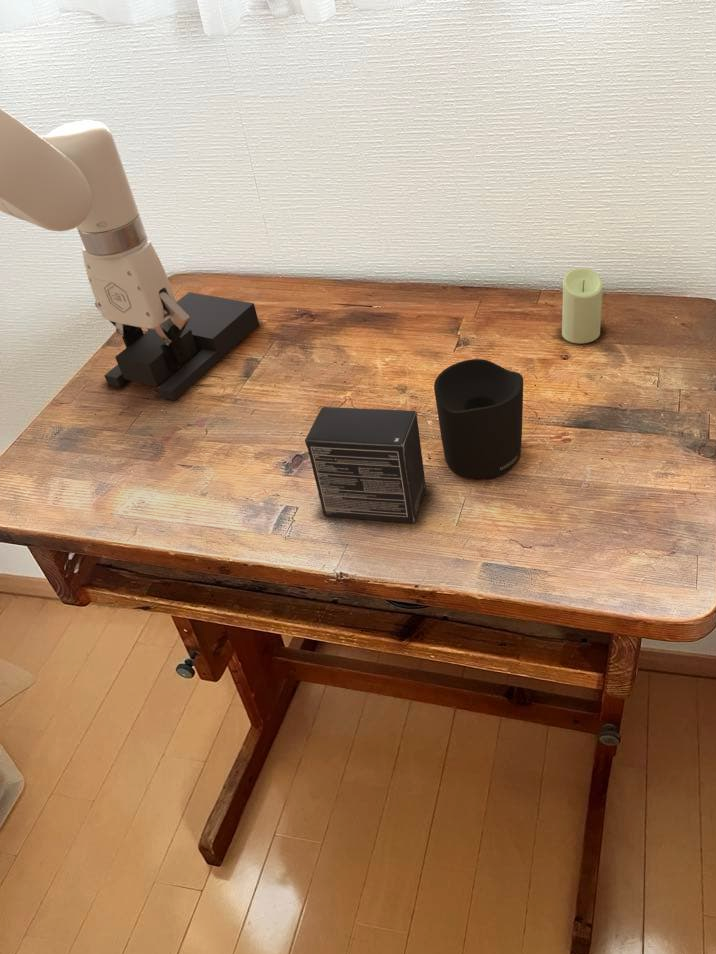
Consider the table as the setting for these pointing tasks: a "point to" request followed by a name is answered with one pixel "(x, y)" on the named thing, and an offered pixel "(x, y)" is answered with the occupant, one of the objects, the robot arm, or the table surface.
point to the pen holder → (480, 418)
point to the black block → (151, 357)
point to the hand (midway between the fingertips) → (159, 359)
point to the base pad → (204, 338)
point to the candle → (581, 305)
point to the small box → (367, 463)
